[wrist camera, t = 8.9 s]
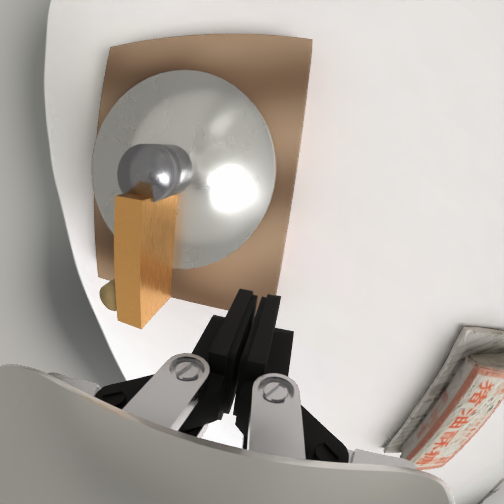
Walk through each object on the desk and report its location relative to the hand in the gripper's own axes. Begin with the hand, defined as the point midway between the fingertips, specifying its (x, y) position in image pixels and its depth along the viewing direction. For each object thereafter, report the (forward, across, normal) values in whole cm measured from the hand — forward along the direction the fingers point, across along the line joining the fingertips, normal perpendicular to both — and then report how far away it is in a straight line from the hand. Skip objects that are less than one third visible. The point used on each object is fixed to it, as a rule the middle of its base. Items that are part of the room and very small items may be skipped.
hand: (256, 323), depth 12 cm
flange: (+7, +7, -4) cm, 10 cm away
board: (+9, +7, -5) cm, 12 cm away
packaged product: (+9, -22, +13) cm, 27 cm away
